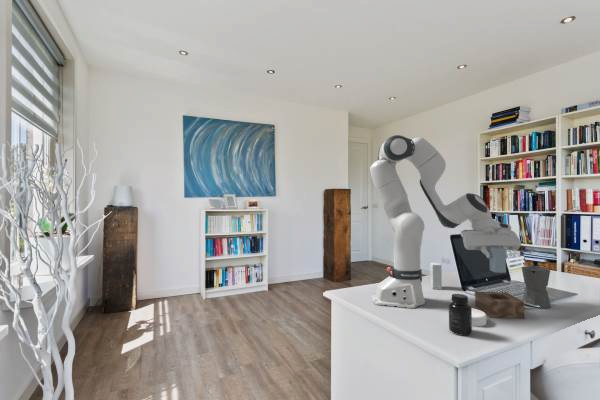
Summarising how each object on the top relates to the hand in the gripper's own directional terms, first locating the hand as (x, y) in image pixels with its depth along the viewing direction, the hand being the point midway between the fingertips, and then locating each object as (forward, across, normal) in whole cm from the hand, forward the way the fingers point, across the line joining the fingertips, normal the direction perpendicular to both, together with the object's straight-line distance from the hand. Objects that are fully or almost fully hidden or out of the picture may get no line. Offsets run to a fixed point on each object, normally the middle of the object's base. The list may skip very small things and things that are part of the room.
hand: (497, 257), depth 118 cm
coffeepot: (+7, +20, +23) cm, 31 cm away
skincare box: (-8, -14, +38) cm, 41 cm away
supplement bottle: (+29, -21, +1) cm, 36 cm away
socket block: (+15, 0, +15) cm, 21 cm away
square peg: (+4, 0, +4) cm, 5 cm away
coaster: (+22, -14, +8) cm, 28 cm away
